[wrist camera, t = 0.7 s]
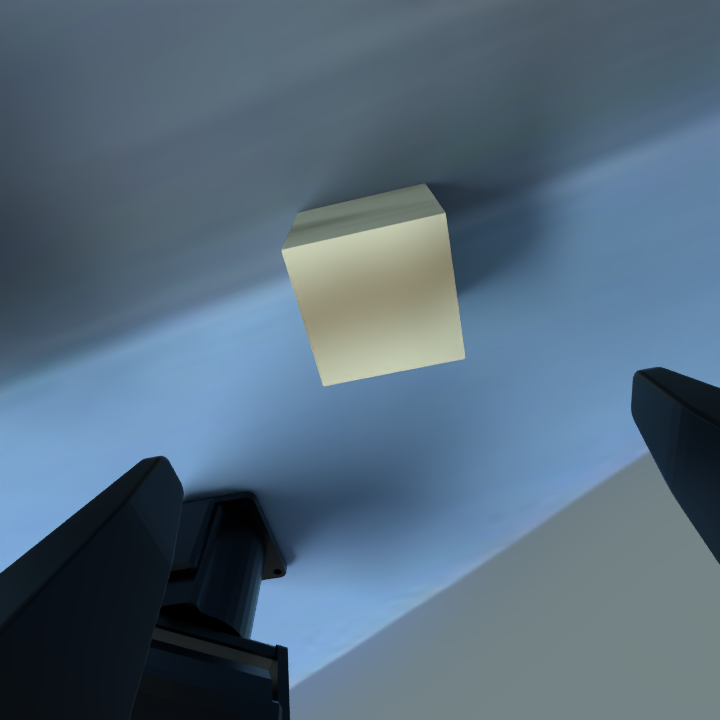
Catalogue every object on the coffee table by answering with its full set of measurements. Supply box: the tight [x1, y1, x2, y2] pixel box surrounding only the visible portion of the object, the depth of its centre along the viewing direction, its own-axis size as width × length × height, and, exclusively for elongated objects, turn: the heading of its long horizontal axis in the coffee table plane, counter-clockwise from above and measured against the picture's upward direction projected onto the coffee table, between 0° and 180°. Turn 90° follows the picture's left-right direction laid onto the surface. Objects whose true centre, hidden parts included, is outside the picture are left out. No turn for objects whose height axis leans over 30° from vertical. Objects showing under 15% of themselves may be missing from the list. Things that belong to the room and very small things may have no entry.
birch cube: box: [281, 183, 466, 386], centre depth 18 cm, size 5×5×5 cm
